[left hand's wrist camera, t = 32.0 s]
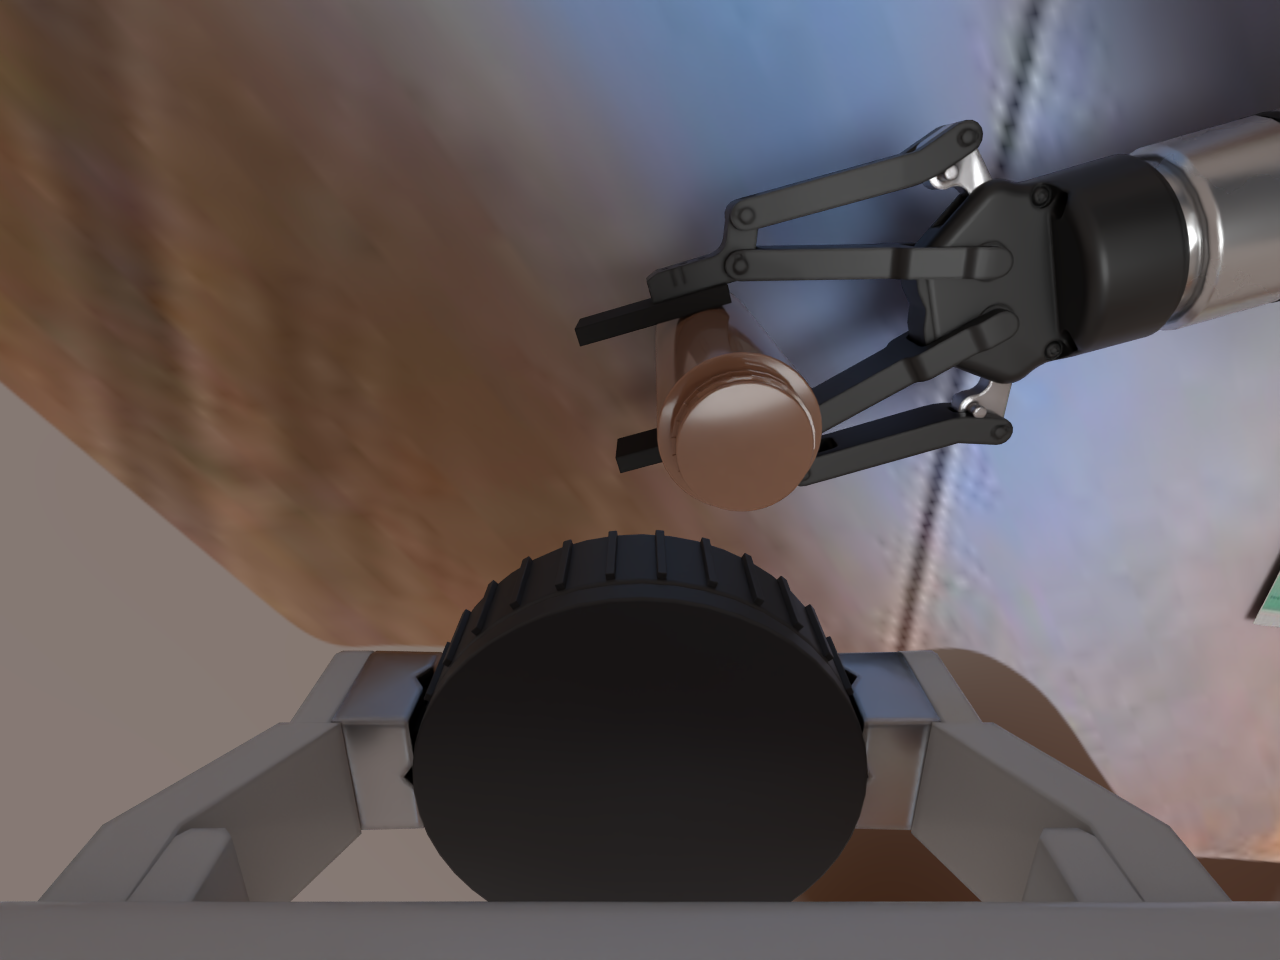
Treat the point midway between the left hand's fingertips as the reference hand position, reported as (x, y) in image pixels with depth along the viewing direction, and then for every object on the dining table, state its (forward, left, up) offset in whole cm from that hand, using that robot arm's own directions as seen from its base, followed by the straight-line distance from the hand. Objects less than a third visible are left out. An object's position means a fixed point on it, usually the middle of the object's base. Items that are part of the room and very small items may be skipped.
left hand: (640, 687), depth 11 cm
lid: (0, 0, +2) cm, 2 cm away
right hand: (+2, -1, -22) cm, 23 cm away
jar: (-2, +3, -29) cm, 29 cm away
